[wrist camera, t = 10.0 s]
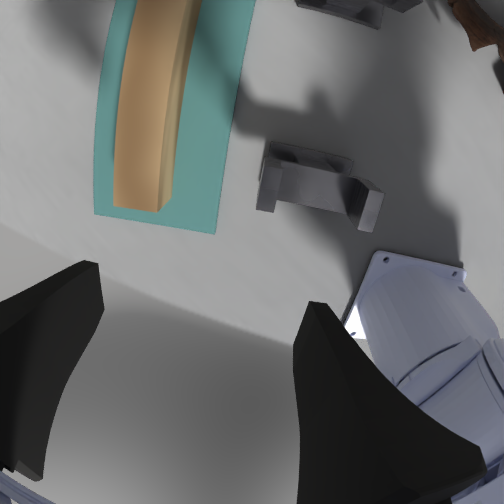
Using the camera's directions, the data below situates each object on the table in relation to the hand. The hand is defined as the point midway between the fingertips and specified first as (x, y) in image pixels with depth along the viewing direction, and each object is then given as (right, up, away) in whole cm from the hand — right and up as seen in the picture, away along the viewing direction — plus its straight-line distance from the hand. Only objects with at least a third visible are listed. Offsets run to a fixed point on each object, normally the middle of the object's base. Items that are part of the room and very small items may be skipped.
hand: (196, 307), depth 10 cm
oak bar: (-3, +13, +4) cm, 14 cm away
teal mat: (-3, +13, +5) cm, 15 cm away
